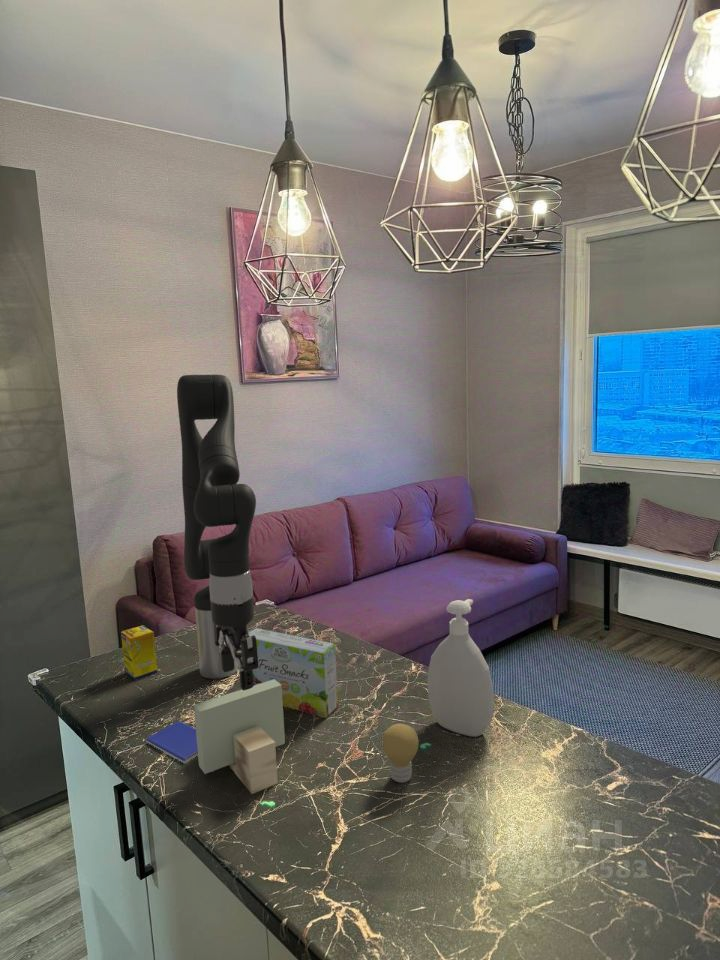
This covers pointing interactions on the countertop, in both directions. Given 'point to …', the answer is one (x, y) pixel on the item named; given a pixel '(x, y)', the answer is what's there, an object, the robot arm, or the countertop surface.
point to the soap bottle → (460, 679)
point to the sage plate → (237, 722)
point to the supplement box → (139, 652)
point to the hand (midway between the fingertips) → (237, 679)
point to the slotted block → (255, 759)
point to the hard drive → (176, 741)
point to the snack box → (298, 670)
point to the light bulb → (400, 750)
